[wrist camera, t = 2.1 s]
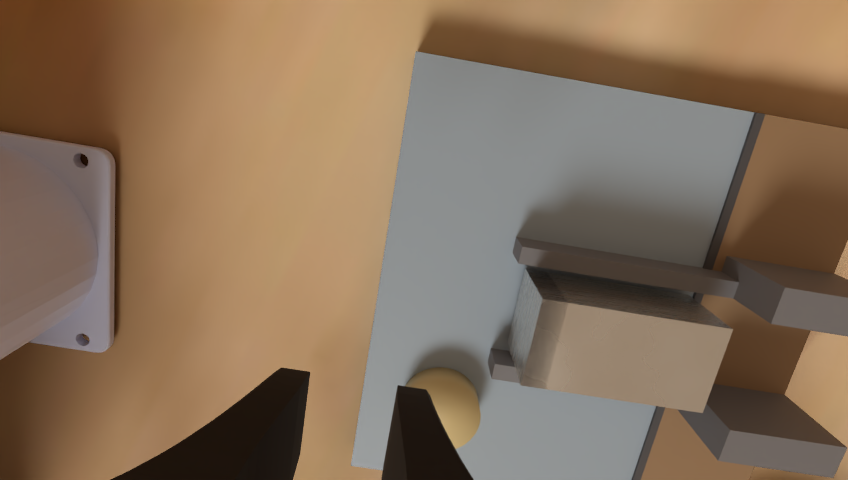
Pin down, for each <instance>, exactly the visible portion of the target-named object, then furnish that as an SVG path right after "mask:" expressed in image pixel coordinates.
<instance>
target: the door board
mask: <svg viewBox="0 0 848 480" xmlns="http://www.w3.org/2000/svg"><path fill="white" fill-rule="evenodd" d="M847 240H848V129H844V128H839V127H833V126H828V125H822V124H817V123H811V122H806V121H800V120H794V119H789V118H783V117H778V116H772V115H767V114H762V113H755V112H749V111H743V110H738V109H732V108H727V107H721V106H716V105H710V104H705V103H699V102H694V101H688V100H683V99H677V98H672V97H666V96H660V95H655V94H649V93H644V92H638V91H633V90H627V89H622V88H616V87H611V86H605V85H600V84H594V83H589V82H583V81H577V80H572V79H566V78H561V77H555V76H550V75H544V74H539V73H533V72H528V71H522V70H517V69H511V68H505V67H500V66H494V65H489V64H483V63H478V62H472V61H467V60H461V59H456V58H450V57H445V56H439V55H434V54H428V53H422V52H417V51H416V53H415V60H414V66H413V73H412V79H411V85H410V92H409V98H408V105H407V111H406V117H405V124H404V130H403V137H402V143H401V149H400V156H399V162H398V168H397V175H396V181H395V188H394V194H393V200H392V207H391V213H390V220H389V226H388V232H387V239H386V245H385V252H384V258H383V264H382V271H381V277H380V283H379V290H378V296H377V303H376V309H375V315H374V322H373V328H372V335H371V341H370V347H369V354H368V360H367V367H366V373H365V379H364V386H363V392H362V398H361V405H360V411H359V418H358V424H357V430H356V437H355V443H354V450H353V456H352V462H351V466H356V467H363V468H370V469H377V470H383V465H384V459H385V454H386V448H387V442H388V437H389V431H390V426H391V420H392V414H393V409H394V403H395V397H396V392H397V386H398V385H400V386H407V387H413V388H420V389H426V390H427V391H428V393H429V394H430V396H431V399H432V402H433V404H434V407H435V409H436V411H437V414H438V416H439V418H440V420H441V422H442V424H443V426H444V428H445V430H446V432H447V434H448V436H449V438H450V440H451V442H452V444H453V445H454V447H455V449H456V451H457V453H458V455H459V456H460V458H461V460H462V461H463V463H464V465H465V466H466V468H467V470H468V471H469V473H470V475H471V476H472V478H473V479H474V480H749V479H750V477H751V474H752V472H753V470H754V467H755V466H756V467H762V468H769V469H776V470H783V471H789V472H796V473H803V474H810V475H817V476H823V477H830V478H833V477H834V475H835V473H836V471H837V469H838V467H839V464H840V462H841V460H842V458H843V456H844V454H845V452H846V449H847V447H846V446H845V445H843V444H842V443H841V442H840V441H839V440H837V439H836V438H835V437H834V436H833V435H832V434H830V433H829V432H828V431H827V430H826V429H824V428H823V427H822V426H821V425H820V424H818V423H817V422H816V421H815V420H814V419H813V418H811V417H810V416H809V415H808V414H807V413H805V412H804V411H803V410H802V409H801V408H799V407H798V406H797V405H796V404H795V403H794V402H792V401H791V400H790V399H789V398H788V397H786V396H785V395H784V394H785V391H786V389H787V387H788V384H789V382H790V379H791V377H792V374H793V372H794V370H795V367H796V365H797V362H798V360H799V357H800V355H801V352H802V350H803V348H804V345H805V343H806V340H807V338H808V335H809V333H810V330H812V331H818V332H824V333H830V334H837V335H843V336H848V280H847V279H845V278H842V277H840V276H838V275H836V274H834V272H835V269H836V267H837V265H838V262H839V260H840V257H841V255H842V252H843V250H844V247H845V245H846V243H847ZM525 268H526V269H532V270H538V271H544V272H551V273H557V274H563V275H569V276H575V277H581V278H587V279H594V280H600V281H606V282H612V283H618V284H624V285H631V286H637V287H643V288H649V289H655V290H661V291H667V292H674V293H680V294H686V295H689V296H691V297H692V298H693V299H695V300H696V301H697V302H698V303H700V304H701V305H702V306H704V307H705V308H706V309H708V310H709V311H710V312H711V313H713V314H714V315H715V316H717V317H718V318H719V319H721V320H722V321H723V322H724V323H726V324H727V325H728V326H730V327H731V328H732V329H733V331H732V334H731V337H730V340H729V342H728V345H727V348H726V351H725V353H724V356H723V359H722V361H721V364H720V367H719V370H718V372H717V375H716V378H715V381H714V383H713V386H712V389H711V392H710V394H709V397H708V400H707V403H706V405H705V408H704V411H703V413H698V412H692V411H685V410H679V409H672V408H666V407H659V406H652V405H646V404H639V403H633V402H626V401H619V400H613V399H606V398H600V397H593V396H587V395H580V394H573V393H567V392H560V391H554V390H547V389H541V388H534V387H527V386H521V384H520V381H519V378H518V375H517V372H516V369H515V366H514V363H513V360H512V357H511V354H510V351H509V348H508V345H507V343H508V339H509V335H510V331H511V326H512V322H513V318H514V314H515V309H516V305H517V301H518V297H519V293H520V288H521V284H522V280H523V276H524V271H525Z"/></svg>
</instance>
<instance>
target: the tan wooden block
mask: <svg viewBox="0 0 848 480" xmlns="http://www.w3.org/2000/svg"><path fill="white" fill-rule="evenodd" d="M732 331H733V329H732V328H731V327H730V326H728V325H727V324H726V323H724V322H723V321H722V320H721V319H719V318H718V317H717V316H715V315H714V314H713V313H711V312H710V311H709V310H708V309H706V308H705V307H704V306H702V305H701V304H700V303H698V302H697V301H696V300H695V299H693V298H692V297H691V296H689V295H686V294H680V293H674V292H667V291H661V290H655V289H649V288H643V287H637V286H631V285H624V284H618V283H612V282H606V281H600V280H594V279H587V278H581V277H575V276H569V275H563V274H557V273H551V272H544V271H538V270H532V269H526V268H525V271H524V276H523V280H522V284H521V288H520V293H519V297H518V301H517V305H516V309H515V314H514V318H513V322H512V326H511V331H510V335H509V339H508V343H507V345H508V348H509V351H510V354H511V357H512V360H513V363H514V366H515V369H516V372H517V375H518V378H519V381H520V384H521V386H527V387H534V388H541V389H547V390H554V391H560V392H567V393H573V394H580V395H587V396H593V397H600V398H606V399H613V400H619V401H626V402H633V403H639V404H646V405H652V406H659V407H666V408H672V409H679V410H685V411H692V412H698V413H703V411H704V408H705V405H706V403H707V400H708V397H709V394H710V392H711V389H712V386H713V383H714V381H715V378H716V375H717V372H718V370H719V367H720V364H721V361H722V359H723V356H724V353H725V351H726V348H727V345H728V342H729V340H730V337H731V334H732Z"/></svg>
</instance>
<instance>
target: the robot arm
mask: <svg viewBox="0 0 848 480" xmlns="http://www.w3.org/2000/svg"><path fill="white" fill-rule="evenodd" d="M81 154H84V155H85V156H86V157H87V158H88V166H85V165H83V163H82V162H81V159H80V157H81ZM114 274H115V160H114V157H113V156H112V154H111V153H110V152H109V151H107V150H105V149H103V148H98V147H92V146H87V145H81V144H75V143H69V142H63V141H57V140H51V139H45V138H39V137H33V136H27V135H21V134H15V133H9V132H3V131H0V360H1V359H2V358H4V357H6V356H7V355H9V354H10V353H12V352H13V351H15V350H17V349H18V348H20V347H21V346H23V345H24V344H26V343H28V342H29V343H36V344H42V345H49V346H56V347H63V348H69V349H76V350H83V351H89V352H96V353H100V352H104V351H106V350H107V349H108V348H110V347H111V345H112V344H113V342H114ZM82 333H83V334H85V335H87V336H88V337H89V340H90V341H87V340H85V339H84V338H83V335H82ZM309 377H310V372H307V371H300V370H294V369H287V368H280V369H279V370H277V371H276V372H274V373H273V374H272V375H271V376H269V377H268V378H267V379H266V380H265V381H263V382H262V383H261V384H260V385H258V386H257V387H256V388H255V389H254V390H252V391H251V392H250V393H248V394H247V395H246V396H245V397H243V398H242V399H241V400H240V401H238V402H237V403H236V404H234V405H233V406H232V407H230V408H229V409H228V410H226V411H225V412H224V413H222V414H221V415H220V416H218V417H217V418H215V419H214V420H213V421H211V422H210V423H208V424H207V425H205V426H204V427H202V428H201V429H199V430H198V431H196V432H195V433H193V434H192V435H190V436H189V437H187V438H186V439H184V440H183V441H181V442H180V443H178V444H176V445H175V446H173V447H172V448H170V449H168V450H166V451H165V452H163V453H161V454H159V455H158V456H156V457H154V458H152V459H150V460H148V461H147V462H145V463H143V464H141V465H139V466H137V467H136V468H134V469H132V470H130V471H128V472H126V473H124V474H122V475H119V476H117V477H115V478H113V479H111V480H293V477H294V474H295V470H296V466H297V463H298V459H299V456H300V450H301V442H302V434H303V426H304V418H305V410H306V402H307V393H308V385H309ZM382 480H474V479H473V478H472V476H471V475H470V473H469V471H468V470H467V468H466V466H465V465H464V463H463V461H462V460H461V458H460V456H459V455H458V453H457V451H456V449H455V447H454V445H453V444H452V442H451V440H450V438H449V436H448V434H447V432H446V430H445V428H444V426H443V424H442V422H441V420H440V418H439V416H438V414H437V411H436V409H435V407H434V404H433V402H432V399H431V396H430V394H429V393H428V391H427V390H426V389H420V388H413V387H407V386H400V385H398V386H397V392H396V397H395V403H394V409H393V414H392V420H391V426H390V431H389V437H388V442H387V448H386V454H385V459H384V465H383V473H382Z"/></svg>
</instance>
